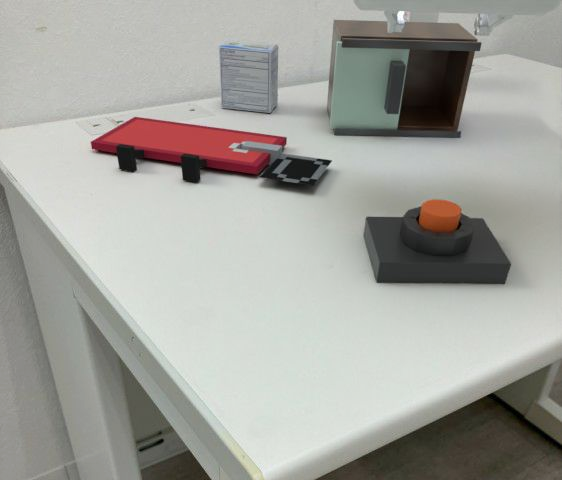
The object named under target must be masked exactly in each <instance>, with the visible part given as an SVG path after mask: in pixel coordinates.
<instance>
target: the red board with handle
mask: <svg viewBox="0 0 562 480" xmlns="http://www.w3.org/2000/svg"><path fill="white" fill-rule="evenodd" d="M287 141H288V137H287V136H283V135H282V136H280V135H274V134H267V133H259V132H251V131H244V130H237V129H229V128H221V127H214V126H207V125H200V124H199V125H198V124H193V123H192V124H191V123H184V122H179V121H178V122H176V121H169V120H161V119H155V118H147V117H140V116H134V117H132V118H130V119H128V120H126V121H125V122H123V123H120V124H119V125H118V126H116V127H114V128H112V129H111V130H109V131H107V132H105V133H103V134H102V135H100V136H98V137H96V138H95V139H93V140H91V141H90V145H91V146H90V147H91V150H93V149H95V150H94V151H99V150H101V151H100V152H106V153H114V154H116V156H117V163H118V169H122V170H121V171H123V170H127V171H126V172H129V171H131V172H130V173H134V172H136V171H137V170H138V166H137V159H143V158H146V159H153V160H160V161H166V162H172V163H173V162H174V163H178V164H179V163H180V165H181V177H182V181H185V182H193V183H199V181H201V178H202V177H201V169H202V168H212V169H217V170H219V169H220V170H224V171H225V170H226V171H232V172H238V173H245V174H251V175H252V174H253V175H258V174H259V173H260V172H261V171H262V170H264V168H265V167H266V166H267V165H268V166H269V167H267V168H266V169H265V170H264V172H263V173H261V175H259V178H261V179H267V180H274V181H281V182H287V183H294V184H301V185H306V186H307V185H308V186H314V185H316V183H317V181H318V180H319V179H320V178H321V176H322V175H323V174H324V172H326V170H327V169H328V167H329V166H330V165H331V163H332V162H333V160H332V159H325V158H319V157H311V156H304V155H296V154H288V153H283V149H284V148H285V147H286V146H287V145H288V144H287V143H288V142H287Z"/></svg>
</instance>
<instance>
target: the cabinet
mask: <svg viewBox="0 0 562 480" xmlns="http://www.w3.org/2000/svg"><path fill="white" fill-rule="evenodd" d="M478 40H479V39H478V38H477V37H475V35H473V34H472V33H471V32H469V31H468V30H467V29H466V28H465V27H463V26H462V25H461V24H460V23H458V22H437V23H430V22H405V25H404V28H403V29H402V33H388V32H387V20H362V19H361V20H356V19H355V20H354V19H333V23H332V36H331V47H330V48H331V49H330V62H329V75H328V88H327V101H326V110H327V114H328V117H329V119H330V118H331V106H332V94H333V82H334V70H335V58H336V45H337V41H340V42H342V46H341V47H342V48H377V49H410V50H409V56H408V63H407V69H406V76H405V82H404V89H403V95H402V101H401V108H400V114H399V121H398V127H397V130H390V129H342V128H334V129H332V131H333V135H334V136H365V137H366V136H368V137H369V136H371V137H372V136H373V137H411V138H412V137H413V138H414V137H416V138H417V137H419V138H420V137H421V138H461V136H462V130H459V125H460V121H461V116H462V112H463V108H464V103H465V100H466V94H467V89H468V85H469V81H470V76H471V71H472V68H473V63H474V59H475V58H474V57H475V54H476V52H481V47H482V42H481V41H478Z"/></svg>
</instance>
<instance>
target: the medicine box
mask: <svg viewBox="0 0 562 480" xmlns="http://www.w3.org/2000/svg"><path fill="white" fill-rule="evenodd" d="M218 55H219V80H220V105H221V108H222V109H229V110H237V111H238V110H239V111H247V112H249V111H250V112H256V113H266V114H270V113H272V112H273V110H274V109H275V108H276V106H278V101H279V99H278V95H279V93H278V91H279V88H278V87H279V44H278V43H271V42H263V41H254V40H253V41H251V40H239V39H227V40H226V41H224V42H223V43H222V44H221V45H220V46H219V47H218Z"/></svg>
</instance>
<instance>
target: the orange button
mask: <svg viewBox="0 0 562 480" xmlns="http://www.w3.org/2000/svg"><path fill="white" fill-rule="evenodd" d="M421 206H422V207H421ZM421 206H420V207H421V212H420V217H419V225H420V226H422V227H423V228H425V229H428V230H432V231H436V232H452V231H456V230H457V227H458V223H459V219H460V215H461V213H462V208H461V206H459V205H458V204H457V203H455V202H452V201H449V200H445V199H437V198H436V199H429V200H425V201H424V202H423V203H422V204H421Z"/></svg>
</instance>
